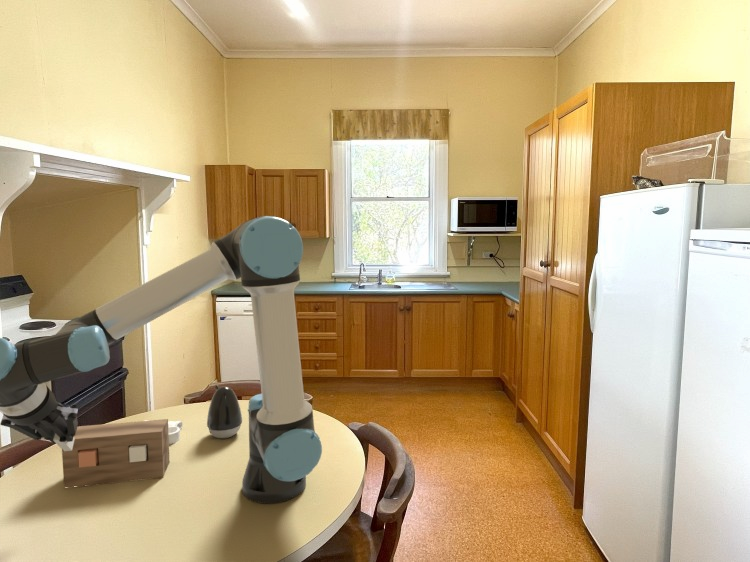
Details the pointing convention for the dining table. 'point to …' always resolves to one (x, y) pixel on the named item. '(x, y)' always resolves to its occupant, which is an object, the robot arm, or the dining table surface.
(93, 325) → the robot arm
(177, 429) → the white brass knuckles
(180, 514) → the dining table surface
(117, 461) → the key console
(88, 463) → the terracotta key
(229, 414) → the black egg shaped device
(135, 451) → the ivory key
